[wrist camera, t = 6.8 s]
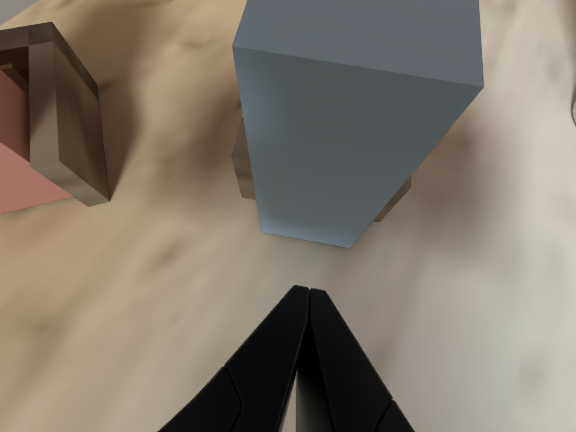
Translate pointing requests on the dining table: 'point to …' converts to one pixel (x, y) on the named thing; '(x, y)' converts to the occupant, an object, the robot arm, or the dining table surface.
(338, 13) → the blue-grey rectangular block
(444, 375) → the dining table surface
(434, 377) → the dining table surface
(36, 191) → the salmon pink block
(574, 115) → the beer glass
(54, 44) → the grey-brown wooden tray
